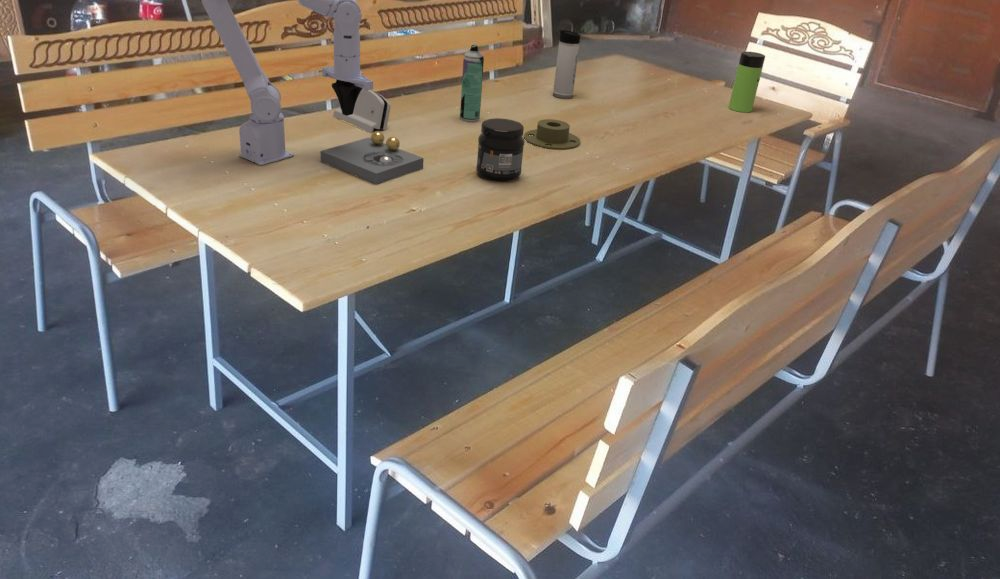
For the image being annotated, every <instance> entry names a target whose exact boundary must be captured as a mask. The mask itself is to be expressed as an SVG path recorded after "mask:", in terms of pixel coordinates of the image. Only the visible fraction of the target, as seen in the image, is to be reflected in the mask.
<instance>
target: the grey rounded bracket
mask: <svg viewBox="0 0 1000 579" xmlns="http://www.w3.org/2000/svg"><path fill="white" fill-rule="evenodd" d="M391 107H392V106H391V103H390V102H389V101H388V99H386V98H385V97H384V96H383V95H382V94H380V93H378V92H377V91H376V90H374V89H372V90H368V91H366V90H364V88H363V89H362V90H361V92H360V93H359V95H358V98H357V100H356V103H355V107H354V111H353V114H352V115H348V116H346V115H343V114H342V110H341V107H340V104H339V105H338V107H337V108H335V109H334V110H333V115H332V117H333V116H334V117H335V118H334V117H333V118H334V119H337V118H338V119H337V120H339V119H341V120H344V121H346V122H348V123H351V124H353V125H355V126H357V127H360V128H362V129H364V130H365V131H364V130H363V131H364V132H367V133H370V134H372V133H373V132H374V130H375V129H377V130H382V131H387V129H388V128H387V127H388V122H389V117H390V112H391ZM341 120H340V121H341ZM344 121H343V122H344ZM346 122H345V123H346ZM348 123H347V124H348ZM353 125H352V126H353ZM355 126H354V127H355ZM357 127H356V128H357ZM360 128H359V129H360ZM362 129H361V130H362Z"/></svg>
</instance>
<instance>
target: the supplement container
mask: <svg viewBox="0 0 1000 579" xmlns="http://www.w3.org/2000/svg"><path fill="white" fill-rule="evenodd" d="M524 129H525V128H524V125H523V124H522V123H520V122H519V121H518V120H517V121H516V120H514V119H513V120H512V119H509V118H499V117H498V118H496V117H495V118H489V119H488V118H487V119H485V120H483V121H482V122H481V129H480V132H481V133H480V134H479V135H478V138H477V139H478V140H477V141H478V145H477V146H478V147H477V159H476V160H477V162H476V167H475V168H476V172H477V174H478V175H479V176H480V177H481V178H483V179H485V180H488V181H492V182H500V183H502V182H503V183H504V182H512V181H514V180H517V179H518V178H520V176H521V174H522V167H523V166H522V165H523V164H522V162H523V157H524V148H525V147H524V146H525V142H526V141H525V140H524Z"/></svg>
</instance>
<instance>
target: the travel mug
mask: <svg viewBox="0 0 1000 579" xmlns="http://www.w3.org/2000/svg"><path fill="white" fill-rule="evenodd" d="M558 32H559V40H558V47H557V48H558V49H557V58H556V65H555V66H556V67H555V73H554V75H555V76H554V82H553V91H552V96H553V97H555V98H557V99H563V100H570V99H572V98H573V97H574V90H575V82H576V75H577V67H578V66H577V65H578V60H579V59H578V58H579V52H580V45H581V34H579V33H578V32H575V31H571V30H567V29H566V30H565V29H559V31H558Z"/></svg>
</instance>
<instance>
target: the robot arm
mask: <svg viewBox="0 0 1000 579" xmlns="http://www.w3.org/2000/svg"><path fill="white" fill-rule="evenodd" d="M297 1H298V4H299V5H301V6H303V7H305V8H306V9H308V10H311V11H313V12H315V13H317V14H319V15H321V16H323V17H326V18H333V22H334V27H333V28H334V31H333V32H332V33H333V67H331V66H324V67H322V68H321V73H322V74H321V75H322V77H324V78H331V79H334V80H336V81H335V82H332V83H331V88H332V89H333V91H334V92H335V95H336V97H337V100H338V103H339V105H340V107H341V110H342V114H343V115H346V116H348V115H352V114H353V111H354V107H355V103H356V100H357V98H358V95H359V93H360V92H361V90H362V89H363V88H364V90H366V91H368V90H374V80H373V79H371V78H370V79H369V78H368V77H366V76H365V75H363V73H364V72H362V71H361V33H360V27H361V26H360V23H361V20H362V16H363V15H362V12H361V8H360V6H359V4H358V2H357V0H297ZM201 4H202V7H203V8H204V10H205V12H206V14H207V15H208V17H209V19H210V21H211V24H212V25H213V27H214V29H215V31H216V32H217V35H218V36H219V38H220V40H221V42H222V44H223V46H224V47H225V50H226V52H227V53H228V55H229V57H230V60H231V61H232V63H233V65H234V67H235V69H236V72H238V75H239V76H240V78H241V80H242V82H243V84H244V89H245V91H246V94H247V96H248V98H249V100H250V111H251V113H250V115H249V117H250V118H249V119H248V120H247V121H244V122H243V123H241V124H240V126H239V142H240V153H239V154H238V155H239V157H241V158H243V159H245V160H248V161H250V162H252V163H254V162H255V163H254V164H257V165H258V166H259V165H260V166H262V165H264V166H265V165H266V164H270V163H274V162H277V161H281V160H284V159H289V158H293V157H294V156H295V153H293V152H290V151H288V150H286V135H285V120H284V119H285V118H284V114H283V113H282V112H281V111H282V106H281V100H282V99H281V96H282V95H281V92H280V90H279V89H278V87H276V86H275V85H274V84H273V83H271V82H270V80H269V78H268V76H267V75H266V73H265V72H264V70H263V69H262V67H261V65H260V63H259V61H258V59H257V57H256V54H255V52H254V51H253V50H252V48H251V45H250V43H249V41H248V39H247V37H246V36H245V34H244V31H243V30H242V28H241V25H240V24H239V22H238V20H237V18H236V15H235V14H234V12H233V10H232V8H231V7H230V6H231V5H230V4H229V2H228V0H201Z"/></svg>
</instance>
